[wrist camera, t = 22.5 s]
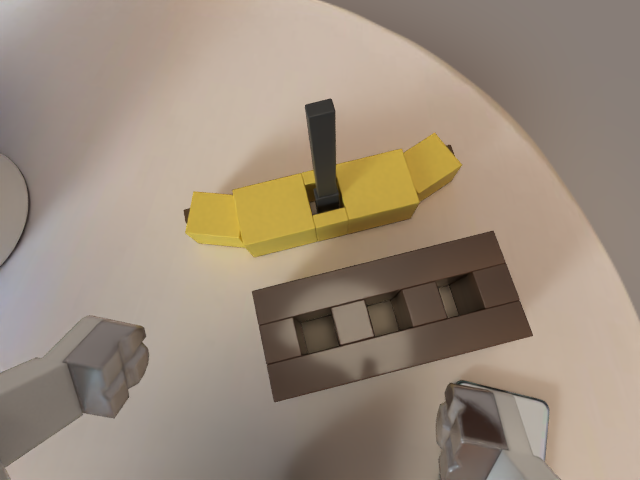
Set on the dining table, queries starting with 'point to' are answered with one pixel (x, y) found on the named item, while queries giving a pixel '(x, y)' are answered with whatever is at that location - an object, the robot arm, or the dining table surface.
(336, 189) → the dark grey stepped rod
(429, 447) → the dining table surface
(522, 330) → the cutlery block
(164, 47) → the dining table surface
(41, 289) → the dining table surface
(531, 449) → the robot arm
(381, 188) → the banana
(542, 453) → the smartphone
